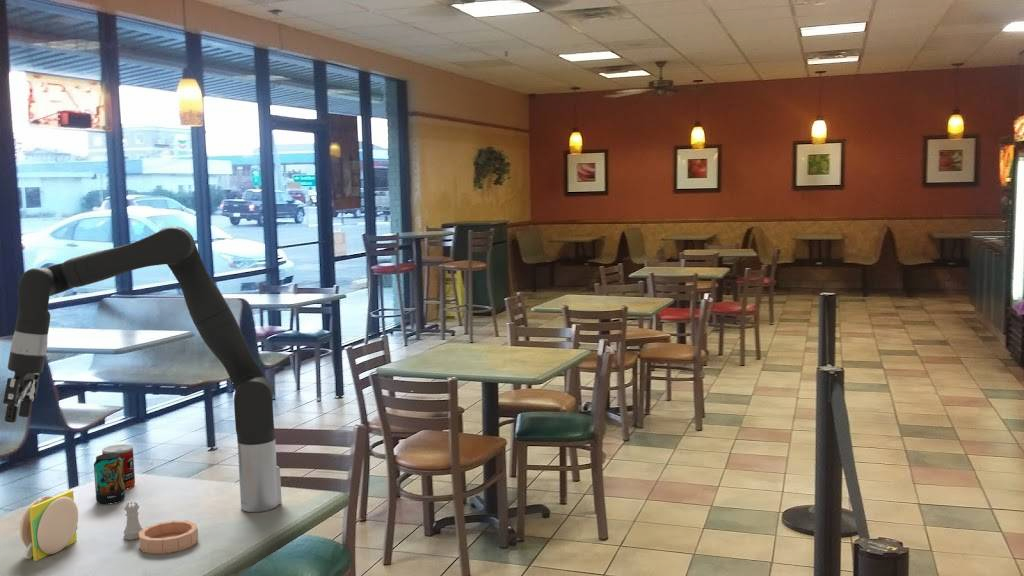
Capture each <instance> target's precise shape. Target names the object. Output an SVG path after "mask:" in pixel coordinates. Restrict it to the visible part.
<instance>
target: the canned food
mask: <svg viewBox="0 0 1024 576" xmlns="http://www.w3.org/2000/svg"><path fill="white" fill-rule="evenodd" d="M101 453H102V454H101V455H103V454H108V453H117V454H120V458H121V459H122V460H123V471H124V486H125V489H126V490H128V489H127V488H130V487H132V486H133V487H135V483H136V474H135V457H134V447H133V445H131V444H124V443H123V444H114V445H109V446H106V447H104V448H102V452H101ZM133 487H132V488H133ZM130 489H131V488H130Z"/></svg>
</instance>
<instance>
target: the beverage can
mask: <svg viewBox="0 0 1024 576" xmlns="http://www.w3.org/2000/svg"><path fill="white" fill-rule="evenodd" d="M95 459H96V460H95V461H94V463H93V474H94V475H93V477H94V488H95V490H94V491H95V500H96V502H97V503H99V504H101V505H111V504H110V503H113V504H116V503H115V502H117V503H120V502H122V501H123V500H124V498H126V490H125V486H124V471H123V460H122V459H121V458H120V454H117V453H108V454H103V455H102V454H100V455H97V456H96V457H95ZM121 500H122V501H121ZM119 501H120V502H119Z"/></svg>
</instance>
